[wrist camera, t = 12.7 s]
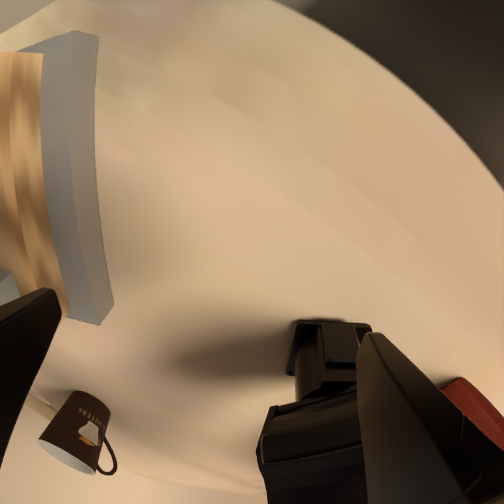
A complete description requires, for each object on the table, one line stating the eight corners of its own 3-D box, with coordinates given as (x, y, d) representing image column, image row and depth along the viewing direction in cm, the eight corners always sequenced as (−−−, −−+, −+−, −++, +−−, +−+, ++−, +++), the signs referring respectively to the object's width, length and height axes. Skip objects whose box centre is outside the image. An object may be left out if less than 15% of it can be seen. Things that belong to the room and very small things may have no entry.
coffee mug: (56, 380, 33) (26, 432, 24) (102, 391, 32) (73, 452, 23) (90, 424, 38) (69, 471, 29) (133, 435, 37) (115, 488, 28)
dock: (114, 304, 25) (99, 325, 22) (24, 283, 25) (8, 299, 22) (99, 36, 14) (75, 30, 12) (-2, 70, 15) (-25, 72, 12)
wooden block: (71, 309, 22) (46, 340, 18) (22, 296, 22) (-2, 321, 18) (43, 53, 12) (1, 52, 9) (-9, 74, 13) (-46, 79, 9)
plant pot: (479, 344, 24) (538, 470, 9) (499, 398, 29) (532, 482, 14) (341, 427, 31) (350, 550, 16) (399, 457, 36) (412, 541, 21)
